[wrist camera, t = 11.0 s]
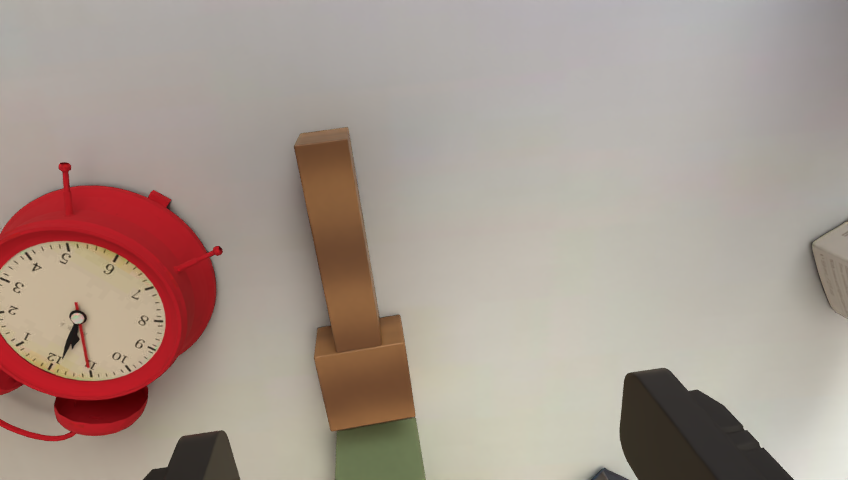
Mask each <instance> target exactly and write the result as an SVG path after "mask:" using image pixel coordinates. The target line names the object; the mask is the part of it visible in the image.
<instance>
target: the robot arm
mask: <svg viewBox="0 0 848 480" xmlns="http://www.w3.org/2000/svg"><path fill="white" fill-rule="evenodd" d="M620 440H621V445H622V449H623V452H624V455H625V457H626V459H627V462H628V463H629V465H630V467H631V468H632V470H633V472H634V473H635V475H636V477H637V478H638V480H794V479H793V478H792V477H791V476H790V475H789V474H788V473H787V472H786V471H785V470H784V469H783V468H782V467H781V466H780V465H779V463H778V462H777V461H776V460H775V459H774V458H773V457H772V456H771V455H770V454H769V453H768V452H767V451H766V450H765V449H764V448H761V447H760V445H759V442H758V441H757V440H756V439H755V438H754V437H753V436H752V435H751V434H750V433H749V432H748V431H747V430H744V429H743V425H742V424H741V423H740V422H739V421H738V420H737V419H736V418H735V417H734V416H733V415H732V414H731V413H730V412H729V411H728V410H727V408H726V407H725V406H724V405H722V404H720V403H719V402H717V401H715V400H714V399H712V398H710V397H709V396H707V395H705V394H704V393H702V392H701V391H699V390H692V391H688V390H687V389H686V388H685V387H684V386H683V385H682V384H681V382H680V381H679V380H678V379H677V378H676V377H675V376H674V375H673V373H672V372H671V371H669V370H668V369H666V368H659V369H652V370H645V371H638V372H631V373H628V374H627V375H626V376H625V379H624V388H623V399H622V410H621V420H620ZM143 480H240V477H239V474H238V470H237V467H236V463H235V460H234V457H233V453H232V450H231V446H230V443H229V440H228V437H227V434H226V433H225V432H224V431H222V430H221V431H214V432H208V433H201V434H194V435H187V436H182V437H181V438H180V439H179V441H178V443H177V445H176V447H175V450H174V452H173V455H172V457H171V460H170V462H169V465H168V467H166V468H159V469H152V470H151V471H150V473H149V474H148V475H147V476H146V477H145V478H144V479H143Z"/></svg>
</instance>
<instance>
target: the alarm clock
mask: <svg viewBox="0 0 848 480" xmlns="http://www.w3.org/2000/svg"><path fill="white" fill-rule="evenodd" d="M59 170H61V171H62V172H63V185H64V189H60V190H56V191H53V192H51V193H48V194H45V195H43V196H41V197H39V198H37V199H36V200H34V201H32V202H30V203H29V204H27V205H26V206H24V207H23V208H22V209H20V210H19V211H18V212H17V213H16V214H15V215H14V216H13V217H12V218H11V219H10V220H9V221H8V223H7V224H6V225H5V227H4V229H3V230H2V232H1V234H0V395H3V394H6V393H9V392H11V391H13V390H15V389H17V388H18V387H20V386H22V385H23V384H24V385H26V386H28V387H30V388H32V389H35V390H37V391H40V392H43V393H46V394H49V395H52V396H55V397H56V400H55V403H54V411H55V415H56V418H57V421H58V422H59V423H60V424H61V425H62V426H63V427H64V428H66V429H67V430H69V431H71V432H70V433H67V434H65V435H61V436H46V435H41V434H36V433H32V432H29V431H25V430H23V429H20V428H17V427H15V426H12V425H10V424H8V423H6V422H5V421H3V420H1V419H0V426H1V427H3V428H5V429H7V430H10V431H12V432H15V433H17V434H20V435H23V436H26V437H29V438H33V439H39V440H44V441H60V440H65V439H68V438H70V437H72V436H74V435H75V434H76V433H77V434H81V435H88V436H101V435H108V434H113V433H116V432H119V431H121V430H123V429H126V428H127V427H129V426H130V425H132V424H133V423H134V422H135V421H136V420H137V419H138V418H139V417H140V416H141V414H142V413H143V411H144V409H145V406H146V404H147V399H148V387H147V385H148V384H150V383H151V382H153V381H154V380H155V379H157V378H158V377H160V376H161V375H162V374H163V373H164V372H166V370H167V369H168V368H169V367H170V366H171V365H172V364H173V363H174V361H175V360H176V358H177V357H178V356H179V355H180V354H182V353H183V352H185V351H186V350H187V349H188V348H190V347H191V346H192V345H193V344H194V343H195V342H196V341H197V339H198V338H199V337H200V336H201V334H202V333H203V331H204V330H205V328H206V326H207V324H208V322H209V320H210V318H211V315H212V313H213V309H214V306H215V300H216V279H215V273H214V269H213V266H212V263H211V260H210V258H209V257H211V256H213V255H217V256H218V255H221V254H222V252H223V251H222V248H221V247H220V246H216V247H214V248H213V251H211V252H209V253H207V251H206V250H205V248H204V246H203V244H202V243H201V241H200V240H199V238H198V237H197V236H196V234H195V233H194V232H193V231H192V230H191V229H190V227H189V226H188V225H187V224H186V223H184V222H183V221H182V220H181V219H180V218H179V217H178V216H177V215H175V214H174V213H173V212H171V211H170V210H169V209H167V208H166V207H167V205H168V204H169V202H170V201H171V199H169V198H167V197H165V196H163V195H162V194H160V193H158V192H156V191H154V190H153V191H152V192H151V193H150V195H149V196H148V198H147V197H144V196H142V195H139V194H137V193H134V192H131V191H127V190H123V189H119V188H114V187H106V186H76V187H70V185H69V174H68V171H69V170H71V165H70V164H69V163H65V162H64V163H60V164H59Z"/></svg>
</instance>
